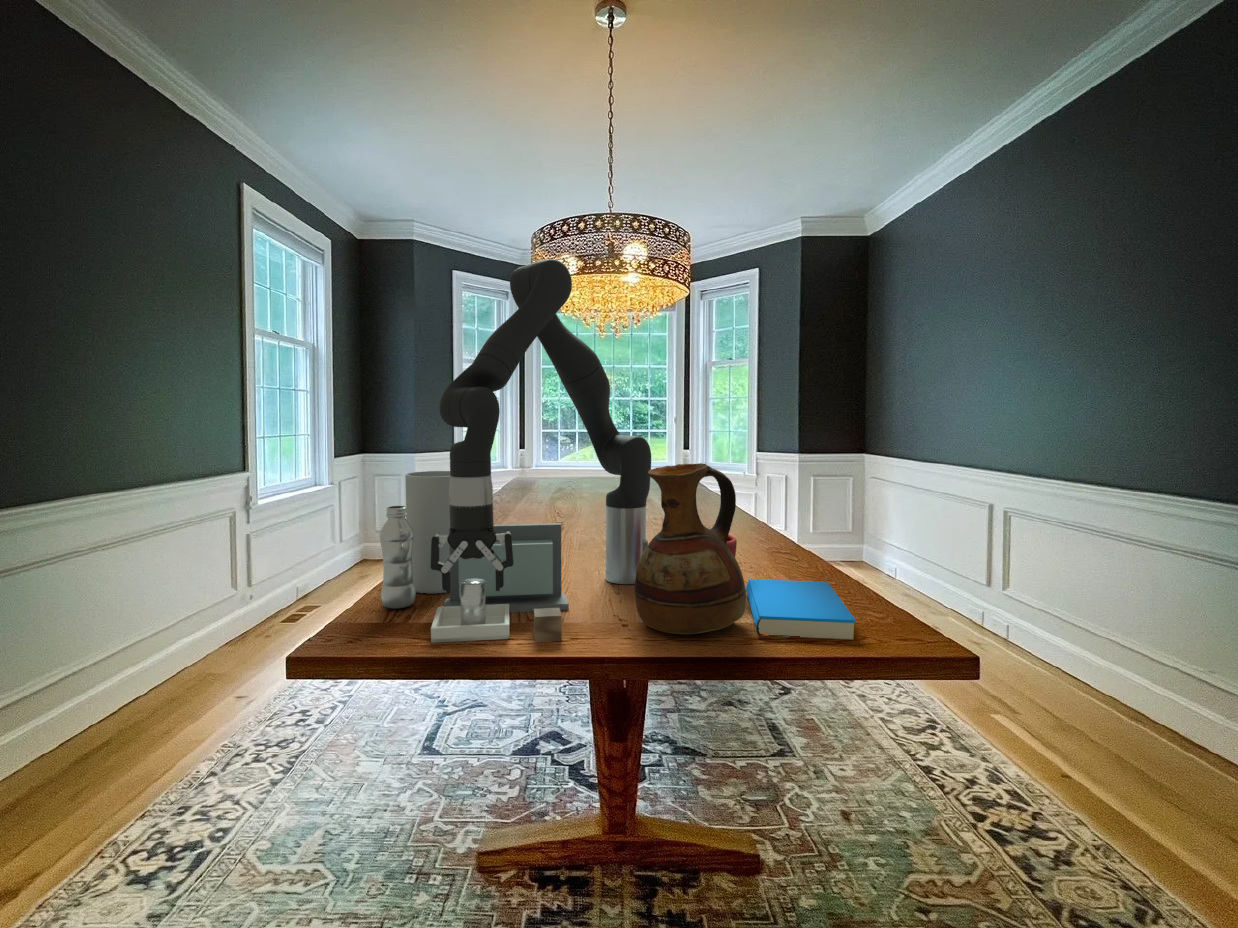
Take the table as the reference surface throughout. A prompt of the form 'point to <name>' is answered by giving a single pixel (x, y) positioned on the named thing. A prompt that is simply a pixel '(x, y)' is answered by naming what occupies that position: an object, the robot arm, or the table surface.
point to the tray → (451, 629)
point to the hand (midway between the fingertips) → (473, 591)
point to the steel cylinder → (473, 601)
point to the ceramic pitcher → (690, 559)
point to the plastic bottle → (397, 559)
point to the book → (799, 609)
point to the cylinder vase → (427, 524)
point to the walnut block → (547, 625)
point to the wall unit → (518, 570)
